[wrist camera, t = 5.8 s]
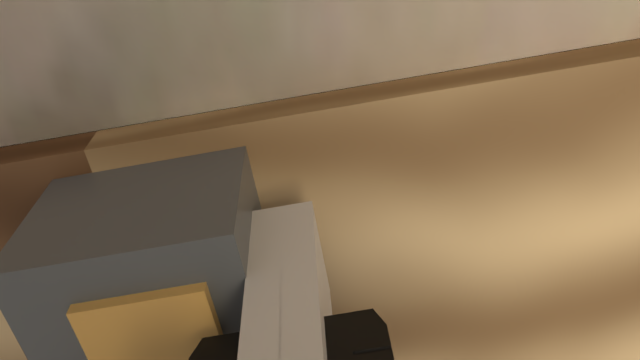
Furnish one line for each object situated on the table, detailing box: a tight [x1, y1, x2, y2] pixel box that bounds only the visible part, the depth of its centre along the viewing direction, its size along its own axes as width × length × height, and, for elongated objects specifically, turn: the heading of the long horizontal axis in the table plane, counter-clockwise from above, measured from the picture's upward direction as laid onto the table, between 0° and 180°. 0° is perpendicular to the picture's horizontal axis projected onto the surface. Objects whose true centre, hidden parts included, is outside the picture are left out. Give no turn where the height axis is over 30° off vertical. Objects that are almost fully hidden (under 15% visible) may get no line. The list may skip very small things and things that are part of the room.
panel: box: [0, 39, 640, 360], centre depth 19 cm, size 14×24×1 cm, turn 99°
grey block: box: [0, 146, 261, 360], centre depth 14 cm, size 5×5×4 cm
